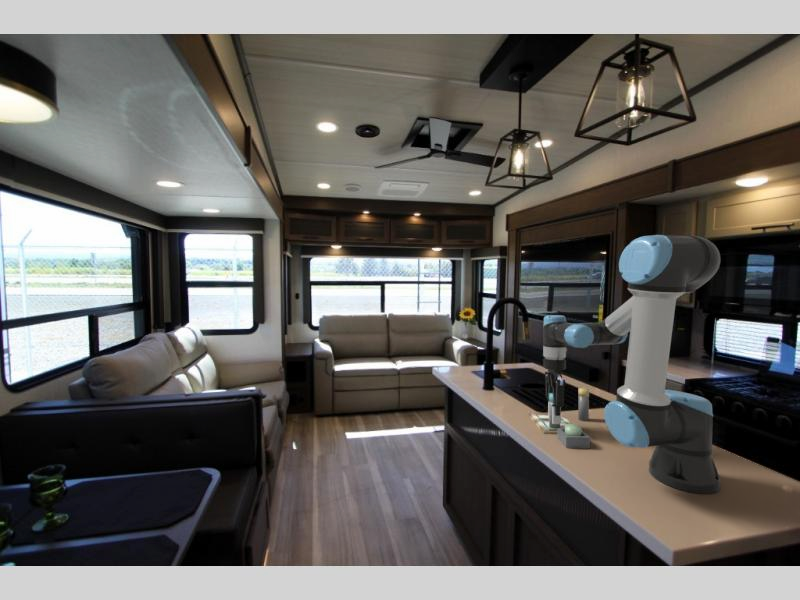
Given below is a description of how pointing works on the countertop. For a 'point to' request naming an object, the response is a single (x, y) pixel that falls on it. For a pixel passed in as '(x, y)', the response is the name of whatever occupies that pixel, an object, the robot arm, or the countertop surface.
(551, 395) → the teal marker
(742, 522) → the countertop surface
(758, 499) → the countertop surface
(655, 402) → the robot arm
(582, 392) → the ochre marker
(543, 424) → the double window tray
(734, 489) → the countertop surface
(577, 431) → the button
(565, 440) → the button housing
